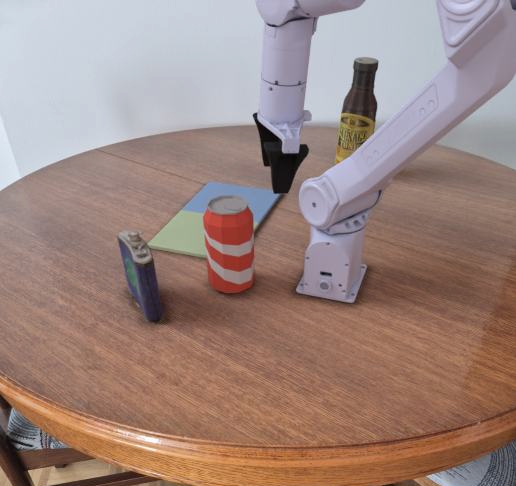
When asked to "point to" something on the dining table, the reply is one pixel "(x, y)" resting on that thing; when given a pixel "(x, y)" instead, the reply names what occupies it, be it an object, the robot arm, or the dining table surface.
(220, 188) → the sorting mat
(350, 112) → the sauce bottle
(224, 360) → the dining table surface
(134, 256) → the flask
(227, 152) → the dining table surface
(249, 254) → the beverage can
